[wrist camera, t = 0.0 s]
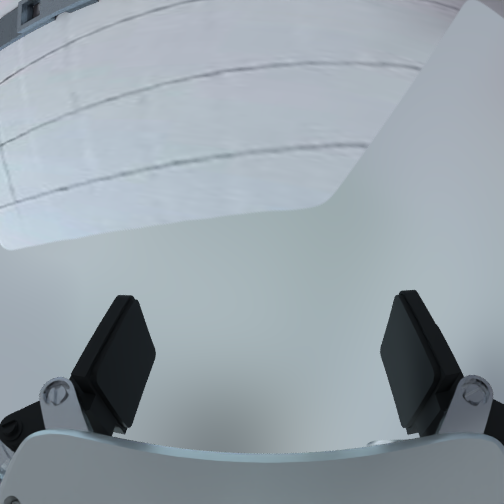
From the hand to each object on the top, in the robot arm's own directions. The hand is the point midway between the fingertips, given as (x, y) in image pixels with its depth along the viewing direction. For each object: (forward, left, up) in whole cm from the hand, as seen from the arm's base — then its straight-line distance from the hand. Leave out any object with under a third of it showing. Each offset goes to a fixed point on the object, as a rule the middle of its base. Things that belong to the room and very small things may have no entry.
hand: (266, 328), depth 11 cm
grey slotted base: (-29, -33, -31) cm, 54 cm away
